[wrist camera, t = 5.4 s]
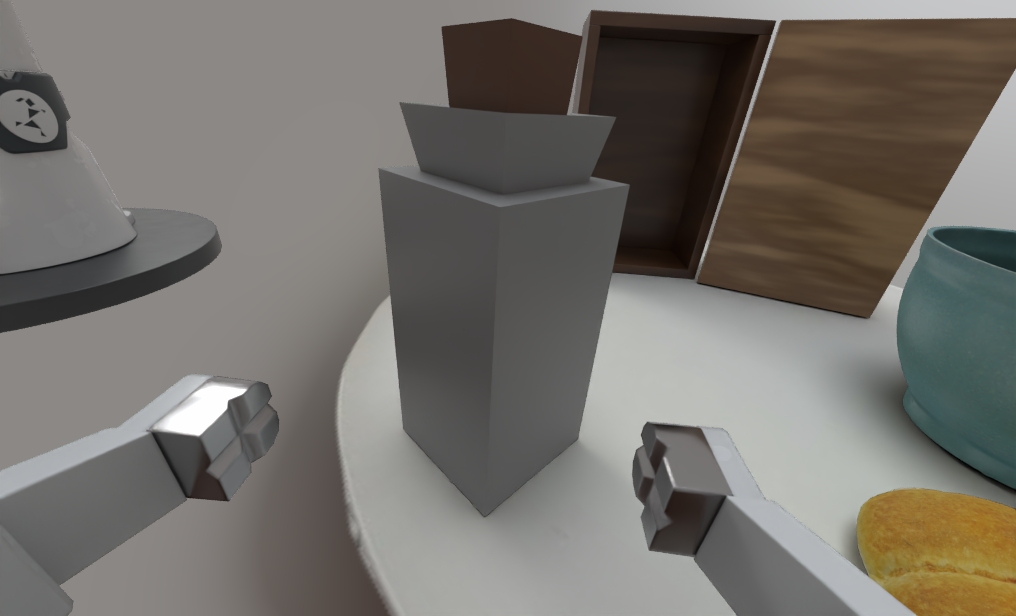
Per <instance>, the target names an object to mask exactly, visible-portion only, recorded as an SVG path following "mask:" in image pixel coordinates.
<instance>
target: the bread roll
mask: <svg viewBox="0 0 1016 616" xmlns="http://www.w3.org/2000/svg"><path fill="white" fill-rule="evenodd" d="M856 532H857V541H858V547H859V552H860V555H861V558H862V560H863V564H864V566H865V568H866V570H867V573H868V577H870V578H871V579H872V580H873V581H875V582H876V583H877V584H878V585H879V586H881V587H882V588H883V589H884V590H886V591H887V592H888V593H889V594H891V595H892V596H893V597H894V598H896V599H897V600H898V601H899V602H901V603H902V604H903V605H904V606H906V607H907V608H908V609H909V610H911V611H912V612H913V613H914V614H916V615H917V616H1016V509H1014V508H1011V507H1008V506H1006V505H1003V504H1000V503H996V502H993V501H990V500H987V499H982V498H978V497H973V496H969V495H964V494H960V493H948V492H942V491H937V490H929V489H923V488H919V489H918V488H898V489H894V490H893V491H890V492H886V493H883V494H879V495H877V496H875V497H872V498H870V499H869V500H868V501H867V502H865V503H864V504H863V505H862V507H861V509H860V512H859V515H858V520H857V526H856Z"/></svg>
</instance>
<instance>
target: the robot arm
mask: <svg viewBox="0 0 1016 616" xmlns="http://www.w3.org/2000/svg"><path fill="white" fill-rule="evenodd" d="M0 69H2V70H0V274H6V273H14V272H20V271H27V270H33V269H38V268H44V267H49V266H54V265H59V264H63V263H68V262H72V261H76V260H80V259H84V258H88V257H91V256H95V255H98V254H101V253H104V252H107V251H110V250H113V249H116V248H118V247H120V246H123V245H125V244H127V243H128V242H130V241H132V240H133V239H134V238H135V237H136V236H137V232H136V230H135V229H134V228H133V226H132V224H133V223H134V222H135V219H134V217H133V215H132V213H131V212H129V211H123V209H122V208H121V206H120V204H119V202H118V201H117V199H116V197H115V195H114V193H113V191H112V189H111V188H110V186H109V184H108V182H107V180H106V179H105V177H104V175H103V173H102V171H101V170H100V168H99V166H98V164H97V162H96V161H95V159H94V157H93V155H92V154H91V152H90V150H89V149H88V147H87V146H86V145H85V144H84V143H83V142H82V141H80V140H79V139H77V138H76V137H75V135H74V134H73V133H72V132H71V130H70V129H69V127H68V125H67V123H66V121H68V120H69V119H70V115H69V113H68V110H67V108H66V106H65V104H64V101H63V100H64V98H63V95H62V93H61V91H58V89H57V87H56V84H55V82H54V80H53V78H52V77H51V76H50V75H49V74H47V73H37V72H42V69H41V67H40V65H39V62H38V60H37V58H36V56H35V53H34V51H33V49H32V47H31V44H30V42H29V40H28V37H27V35H26V33H25V31H24V29H23V26H22V24H21V22H20V19H19V17H18V15H17V13H16V10H15V8H14V6H13V3H12V1H11V0H0ZM7 70H19V71H7ZM23 71H37V72H23ZM271 397H272V395H271V392H270V390H269V387H268V384H265V383H263V382H259V381H251V380H244V379H236V378H228V377H221V376H217V377H215V376H208V375H201V374H192V375H189V376H186V377H184V378H182V379H181V380H180V381H179V382H177V383H176V384H175V385H173V386H172V387H171V388H169V389H168V390H167V391H165V392H164V393H163V394H162V395H160V396H159V397H158V398H156V399H155V400H154V401H152V402H151V403H150V404H148V405H147V406H146V407H144V408H143V409H142V410H141V411H139V412H138V413H137V414H135V415H134V416H133V417H131V418H130V419H129V420H127V421H126V422H125V423H123V424H122V425H121V426H120V427H118V428H108V429H105V430H102V431H100V432H97V433H95V434H92V435H90V436H87V437H85V438H82V439H80V440H77V441H75V442H72V443H69V444H67V445H65V446H62V447H59V448H57V449H54V450H52V451H49V452H47V453H44V454H42V455H39V456H36V457H34V458H32V459H29V460H26V461H24V462H21V463H19V464H16V465H14V466H11V467H9V468H6V469H4V470H1V471H0V616H67V615H68V614H69V613H70V612H71V611H72V608H73V600H72V599H71V598H70V597H69V596H68V595H67V594H66V593H65V592H64V591H63V590H62V589H61V588H60V587H59V585H61V584H62V583H64V582H65V581H67V580H68V579H70V578H71V577H73V576H74V575H76V574H77V573H79V572H80V571H82V570H83V569H84V568H86V567H88V566H89V565H91V564H92V563H94V562H95V561H97V560H98V559H100V558H101V557H103V556H104V555H106V554H107V553H109V552H110V551H112V550H113V549H115V548H116V547H117V546H119V545H121V544H122V543H124V542H125V541H127V540H128V539H130V538H131V537H133V536H134V535H136V534H137V533H139V532H140V531H142V530H143V529H144V528H146V527H147V526H149V525H150V524H152V523H153V522H155V521H156V520H158V519H160V518H161V517H163V516H164V515H165V514H167V513H168V512H170V511H171V510H173V509H174V508H176V507H177V506H179V505H180V504H182V503H183V502H185V501H186V500H187V499H186V498H196V499H207V500H219V501H230V499H231V498H232V497H233V495H234V494H235V493H236V492H237V490H238V489H239V488H240V487H241V485H242V484H243V483H244V481H245V480H246V479H247V478H248V476H249V475H250V474H251V463H252V462H254V461H256V460H257V459H259V458H261V457H263V456H265V455H266V453H267V452H268V451H269V449H270V448H271V447H272V445H273V444H274V441H275V439H276V436H277V434H278V431H279V419H278V415H277V412H276V411H275V410H274V409H273V408H272V407H271V406H270V405H269V404H268V401H269V400H270V398H271ZM641 437H642V440H643V444H644V445H643V446H641V447H640V448H638V449H637V450H636V452H635V456H634V460H633V471H632V477H633V486H634V490H635V495H636V497H637V498H638V499H639V500H640V501H641V503H642V504H643V505H644V509H643V512H642V515H641V520H642V524H643V528H644V533H645V537H646V541H647V545H648V549H649V551H655V552H662V553H669V554H676V555H683V556H690V557H695V558H694V561H695V562H696V563H697V564H698V566H699V567H700V568H701V570H702V571H703V572H704V573H705V575H706V576H707V577H708V579H709V580H710V581H711V582H712V584H713V585H714V586H715V588H716V589H717V590H718V591H719V593H720V594H721V595H722V597H723V598H724V599H725V600H726V602H727V603H728V604H729V606H730V607H731V608H732V609H733V611H734V612H735V613H736V615H737V616H917V615H916V614H914V613H913V612H912V611H911V610H909V609H908V608H907V607H906V606H904V605H903V604H902V603H901V602H899V601H898V600H897V599H896V598H894V597H893V596H892V595H891V594H889V593H888V592H887V591H886V590H884V589H883V588H882V587H881V586H879V585H878V584H877V583H876V582H875V581H873V580H872V579H871V578H870V577H868V576H867V575H866V574H865V573H863V572H862V571H861V570H860V569H858V568H857V567H856V566H855V565H853V564H852V563H851V562H850V561H848V560H847V559H846V558H845V557H843V556H842V555H841V554H840V553H838V552H837V551H836V550H835V549H833V548H832V547H831V546H830V545H828V544H827V543H826V542H825V541H823V540H822V539H821V538H820V537H818V536H817V535H816V534H815V533H813V532H812V531H811V530H810V529H808V528H807V527H806V526H805V525H803V524H802V523H801V522H800V521H798V520H797V519H796V518H795V517H793V516H792V515H791V514H790V513H788V512H787V511H786V510H785V509H783V508H782V507H781V506H780V505H778V504H777V503H776V502H775V501H769V500H766V499H765V498H764V496H763V494H762V492H761V490H760V489H759V487H758V485H757V483H756V482H755V480H754V478H753V476H752V475H751V473H750V471H749V469H748V468H747V466H746V464H745V462H744V461H743V459H742V457H741V455H740V453H739V452H738V450H737V448H736V446H735V445H734V443H733V441H732V439H731V438H730V436H729V434H728V433H727V432H726V431H725V430H724V429H723V428H713V427H702V426H696V427H695V426H689V425H678V424H668V423H657V422H647V423H646V424H645V425H644V427H643V430H642V433H641Z"/></svg>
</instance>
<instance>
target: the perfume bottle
mask: <svg viewBox="0 0 1016 616" xmlns="http://www.w3.org/2000/svg"><path fill="white" fill-rule="evenodd" d="M442 36H443V45H444V55H445V66H446V77H447V87H448V98H449V105H441V104H420V103H401V102H400V106H401V109H402V113H403V116H404V119H405V122H406V125H407V129H408V132H409V135H410V138H411V142H412V145H413V148H414V151H415V154H416V157H417V161H418V164H419V165H418V166H403V167H390V168H379V179H380V190H381V200H382V211H383V221H384V232H385V242H386V252H387V263H388V273H389V284H390V295H391V305H392V316H393V326H394V337H395V347H396V358H397V368H398V379H399V389H400V399H401V410H402V420H403V429H404V430H405V431H406V432H407V433H408V434H409V436H410V437H411V438H412V439H413V440H414V441H415V442H416V443H417V444H418V445H419V446H420V447H421V449H422V450H423V451H424V452H425V453H426V454H427V455H428V456H429V457H430V458H431V459H432V460H433V462H434V463H435V464H436V465H437V466H438V467H439V468H440V469H441V470H442V471H443V472H444V473H445V475H446V476H447V477H448V478H449V479H450V480H451V481H452V482H453V483H454V484H455V485H456V486H457V488H458V489H459V490H460V491H461V492H462V493H463V494H464V495H465V496H466V497H467V498H468V499H469V501H470V502H471V503H472V504H473V505H474V506H475V507H476V508H477V509H478V510H479V511H480V513H481V514H482V515H483V516H484V517H486V516H487V515H488V514H489V513H490V512H491V511H493V510H494V509H495V508H496V507H497V506H499V505H500V504H501V503H502V502H503V501H505V500H506V499H507V498H508V497H509V496H510V495H512V494H513V493H514V492H515V491H516V490H518V489H519V488H520V487H521V486H522V485H524V484H525V483H526V482H527V481H528V480H529V479H531V478H532V477H533V476H534V475H535V474H537V473H538V472H539V471H540V470H541V469H543V468H544V467H545V466H546V465H547V464H548V463H550V462H551V461H552V460H553V459H554V458H556V457H557V456H558V455H559V454H560V453H562V452H563V451H564V450H565V449H566V448H567V447H569V446H570V445H571V444H572V443H573V442H575V441H576V440H577V439H578V436H579V431H580V426H581V421H582V416H583V411H584V407H585V402H586V397H587V392H588V387H589V382H590V377H591V372H592V367H593V363H594V358H595V353H596V348H597V343H598V338H599V333H600V328H601V323H602V319H603V314H604V309H605V304H606V299H607V294H608V289H609V284H610V279H611V275H612V270H613V265H614V260H615V255H616V250H617V245H618V240H619V235H620V230H621V226H622V221H623V216H624V211H625V206H626V201H627V196H628V191H629V186H630V185H629V184H624V183H619V182H615V181H610V180H605V179H600V178H595V177H591V174H592V172H593V170H594V168H595V165H596V163H597V161H598V158H599V156H600V154H601V151H602V149H603V147H604V145H605V142H606V140H607V138H608V135H609V133H610V131H611V128H612V126H613V124H614V122H615V119H616V117H609V116H598V115H586V114H575V113H567V111H568V107H569V102H570V97H571V92H572V87H573V82H574V78H575V73H576V68H577V63H578V58H579V54H580V49H581V44H582V39H583V37H582V36H578V35H575V34H571V33H567V32H562V31H559V30H555V29H551V28H547V27H543V26H540V25H535V24H531V23H528V22H524V21H520V20H516V19H512V18H511V19H503V20H494V21H486V22H477V23H469V24H460V25H451V26H443V27H442Z"/></svg>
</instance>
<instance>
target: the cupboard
mask: <svg viewBox="0 0 1016 616" xmlns="http://www.w3.org/2000/svg"><path fill="white" fill-rule="evenodd" d="M775 23H776V21H773V20H756V19H737V18H722V17H705V16H686V15H670V14H653V13H636V12H634V13H633V12H618V11H600V10H591V12H590V14H589V15H588V17H587V19H586V21H585V23H584V25H583V32H582V37H583V39H582V44H581V49H580V56H579V64H578V72H577V80H576V88H575V96H574V104H573V112H572V113H575V114H586V115H598V116H609V117H616V119H615V122H614V124H613V126H612V128H611V131H610V133H609V135H608V138H607V140H606V142H605V145H604V147H603V149H602V151H601V154H600V156H599V158H598V161H597V163H596V165H595V168H594V170H593V172H592V174H591V177H595V178H600V179H605V180H610V181H615V182H619V183H624V184H629V185H630V186H629V191H628V196H627V201H626V206H625V211H624V216H623V221H622V226H621V230H620V235H619V240H618V245H617V250H616V255H615V260H614V265H613V270H612V272H618V273H630V274H642V275H653V276H665V277H677V278H688V279H694V278H695V275H696V272H697V269H698V266H699V262H700V259H701V256H702V253H703V250H704V247H705V243H706V240H707V237H708V234H709V231H710V228H711V224H712V221H713V218H714V215H715V212H716V209H717V205H718V203H719V199H720V196H721V193H722V190H723V187H724V184H725V180H726V177H727V174H728V171H729V168H730V165H731V162H732V158H733V155H734V152H735V149H736V146H737V143H738V139H739V136H740V133H741V130H742V127H743V124H744V120H745V117H746V114H747V111H748V108H749V105H750V102H751V99H752V95H753V92H754V89H755V86H756V83H757V80H758V76H759V73H760V70H761V67H762V64H763V60H764V58H765V54H766V51H767V48H768V45H769V42H770V39H771V35H772V32H773V29H774V26H775Z"/></svg>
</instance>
